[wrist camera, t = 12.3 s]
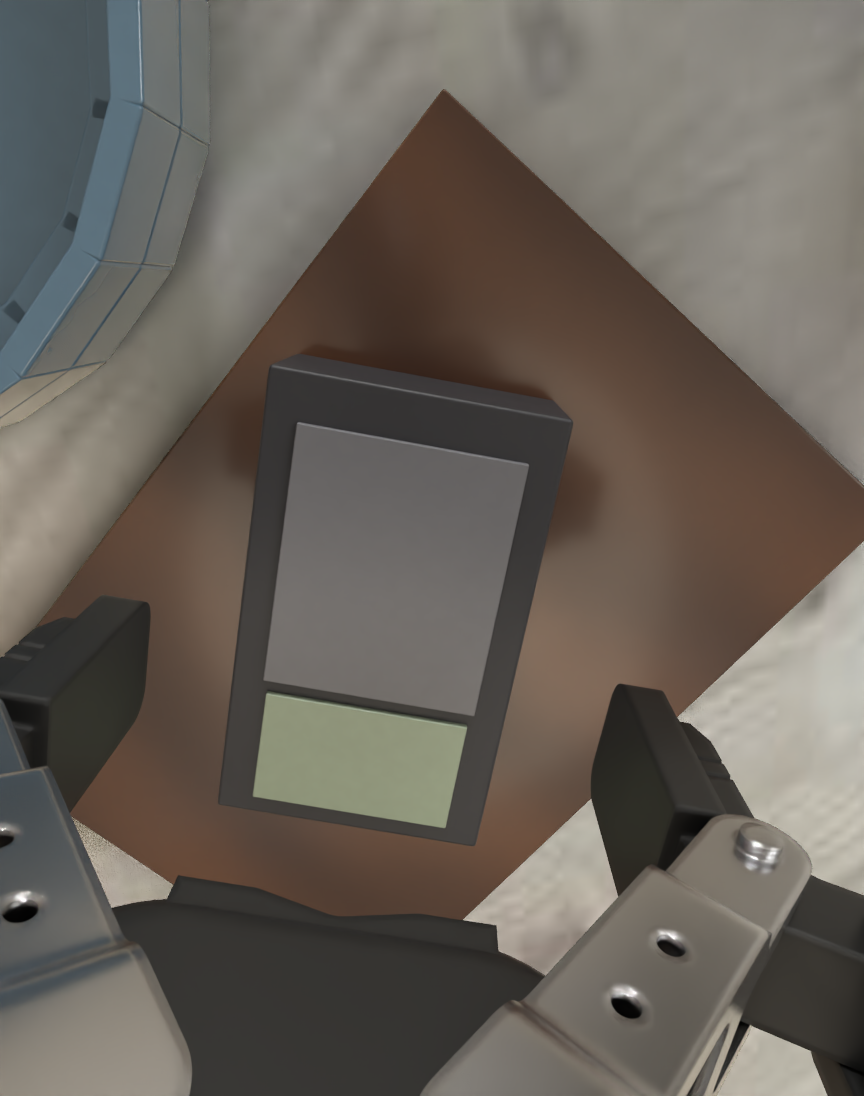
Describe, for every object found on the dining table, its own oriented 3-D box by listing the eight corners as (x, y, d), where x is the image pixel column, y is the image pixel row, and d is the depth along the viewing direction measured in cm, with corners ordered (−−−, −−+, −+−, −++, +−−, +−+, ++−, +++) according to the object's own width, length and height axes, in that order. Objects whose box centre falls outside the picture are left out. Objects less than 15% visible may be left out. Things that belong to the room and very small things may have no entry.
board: (444, 103, 18) (443, 87, 17) (863, 498, 21) (893, 513, 20) (-18, 710, 23) (-48, 737, 22) (369, 973, 26) (364, 1013, 24)
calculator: (296, 352, 19) (266, 364, 16) (555, 400, 19) (576, 421, 16) (246, 737, 22) (214, 810, 19) (471, 775, 22) (476, 853, 19)
